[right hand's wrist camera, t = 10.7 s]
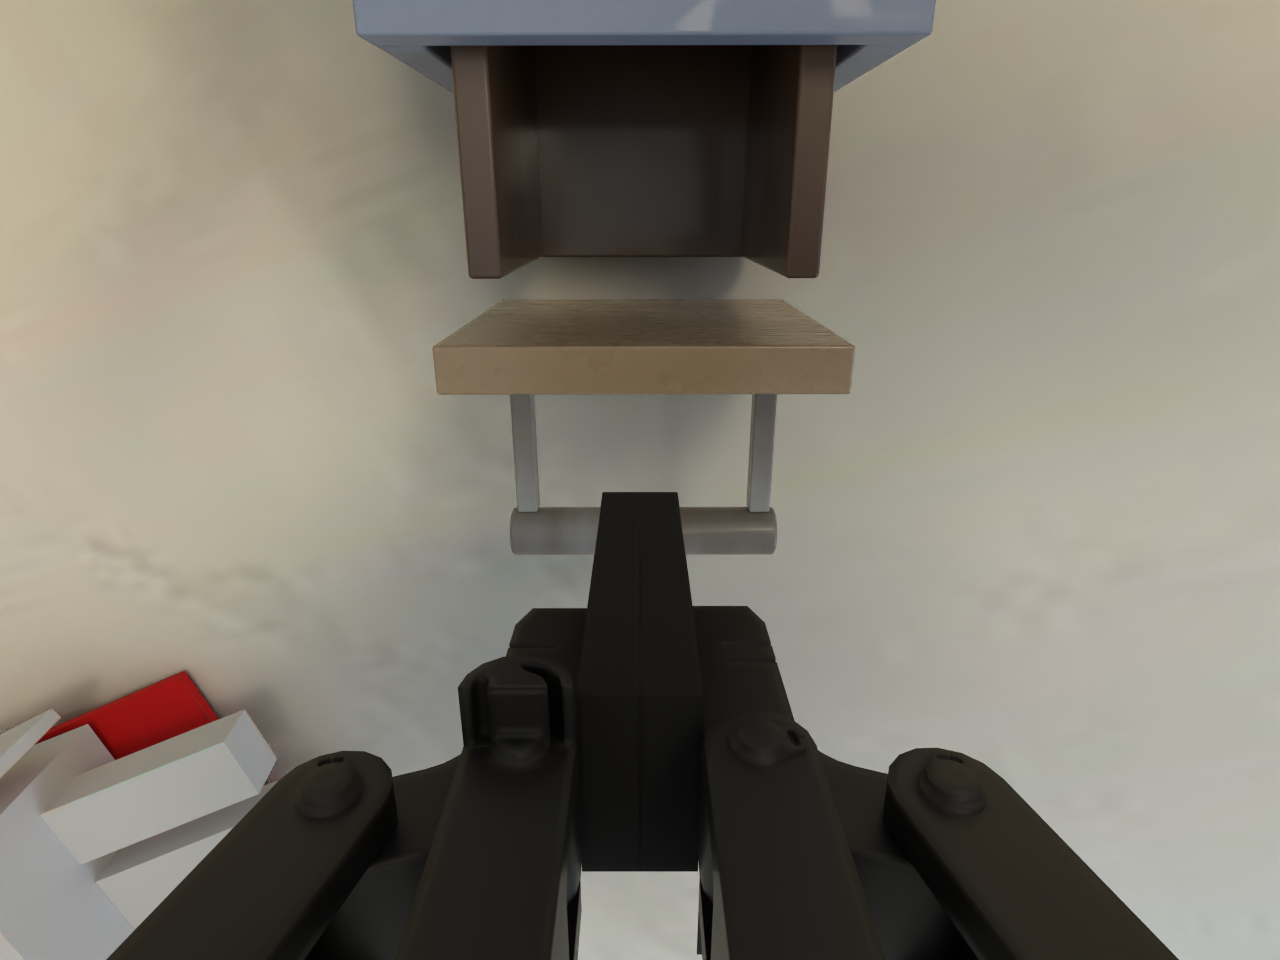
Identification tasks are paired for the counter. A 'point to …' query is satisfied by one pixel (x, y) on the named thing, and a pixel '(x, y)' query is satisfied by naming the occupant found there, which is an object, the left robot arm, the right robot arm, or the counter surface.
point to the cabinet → (643, 27)
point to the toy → (116, 814)
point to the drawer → (643, 243)
